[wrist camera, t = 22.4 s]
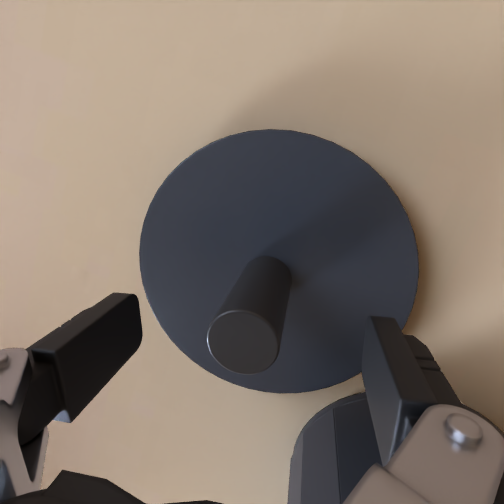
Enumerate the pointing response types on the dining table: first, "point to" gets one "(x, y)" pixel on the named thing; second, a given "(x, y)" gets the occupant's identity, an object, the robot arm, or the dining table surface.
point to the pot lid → (276, 259)
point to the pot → (336, 452)
